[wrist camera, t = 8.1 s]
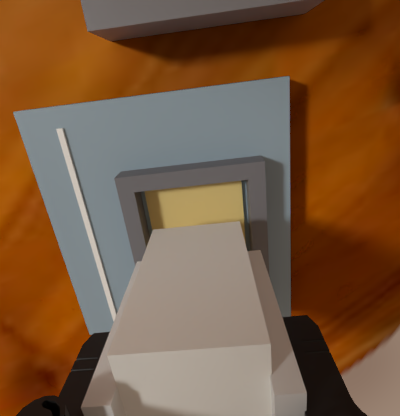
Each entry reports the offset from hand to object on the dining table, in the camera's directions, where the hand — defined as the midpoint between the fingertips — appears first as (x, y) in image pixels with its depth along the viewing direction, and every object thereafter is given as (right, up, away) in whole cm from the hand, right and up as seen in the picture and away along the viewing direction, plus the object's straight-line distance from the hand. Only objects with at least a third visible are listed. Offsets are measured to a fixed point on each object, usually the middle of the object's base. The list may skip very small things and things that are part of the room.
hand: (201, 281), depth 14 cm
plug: (0, 0, +1) cm, 1 cm away
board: (-2, +3, +4) cm, 5 cm away
